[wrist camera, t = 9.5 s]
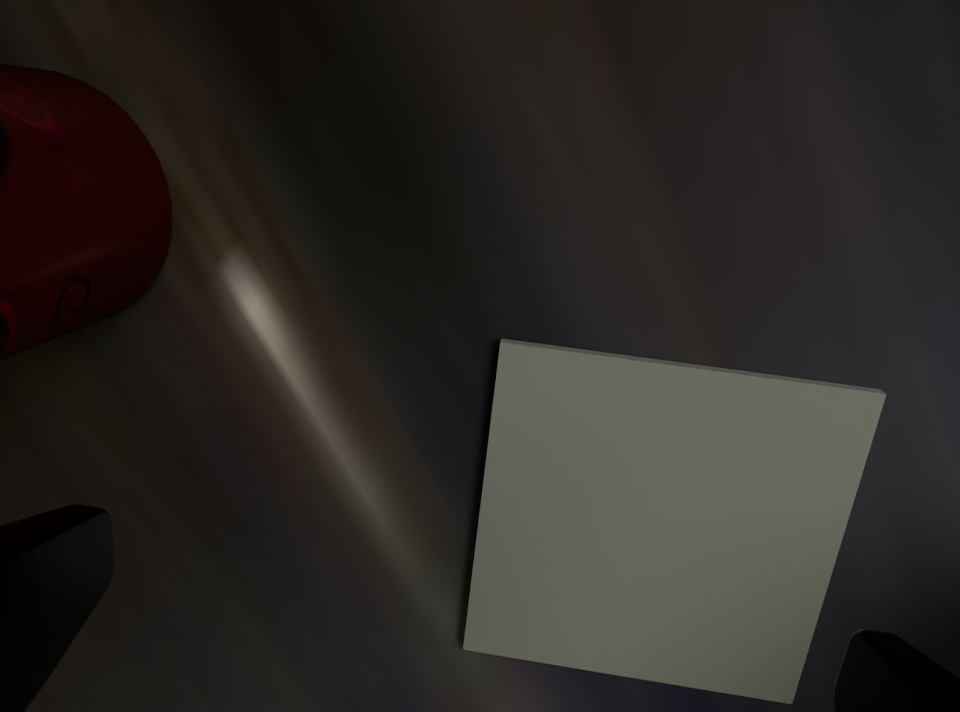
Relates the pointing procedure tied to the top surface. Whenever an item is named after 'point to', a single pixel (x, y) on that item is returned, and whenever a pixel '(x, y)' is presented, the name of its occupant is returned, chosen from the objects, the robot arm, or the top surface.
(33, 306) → the soda can
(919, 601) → the top surface
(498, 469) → the rubber mat
